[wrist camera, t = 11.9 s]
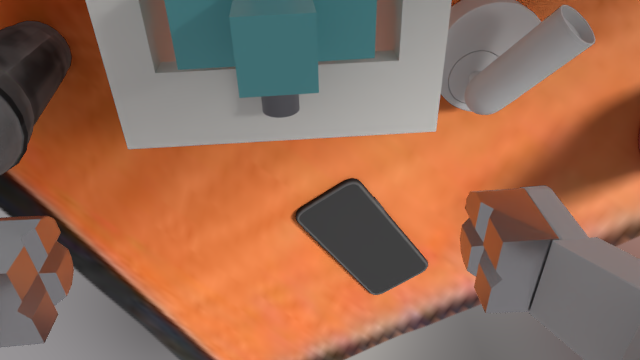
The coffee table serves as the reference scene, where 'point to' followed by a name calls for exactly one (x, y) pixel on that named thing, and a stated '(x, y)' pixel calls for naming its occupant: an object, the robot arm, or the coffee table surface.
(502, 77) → the wall hook
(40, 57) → the beverage cup
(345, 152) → the coffee table surface
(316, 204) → the smartphone
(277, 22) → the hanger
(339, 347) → the coffee table surface
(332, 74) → the shelf
